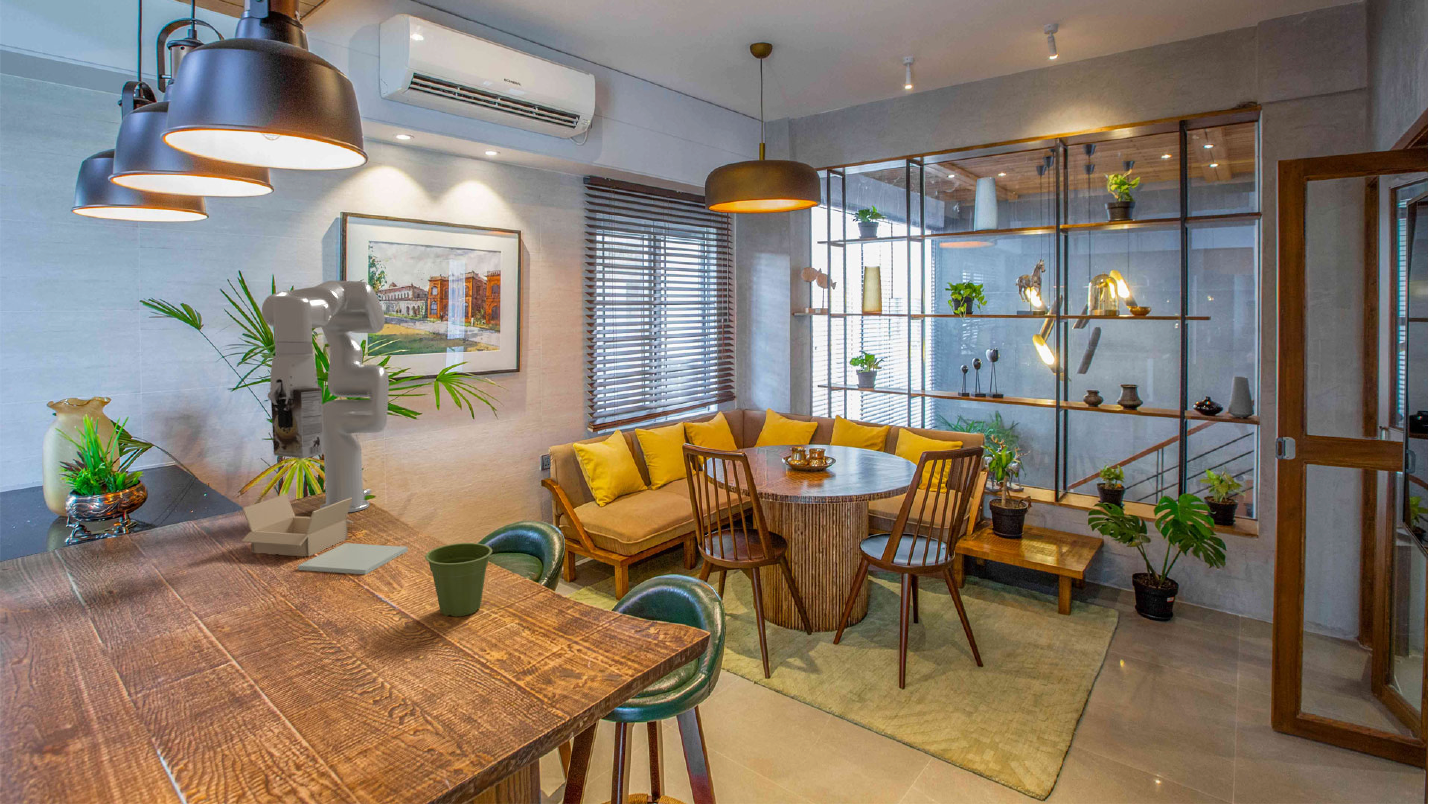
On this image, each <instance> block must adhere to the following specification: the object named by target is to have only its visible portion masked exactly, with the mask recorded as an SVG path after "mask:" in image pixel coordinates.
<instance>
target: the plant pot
mask: <svg viewBox="0 0 1429 804" xmlns="http://www.w3.org/2000/svg"><path fill="white" fill-rule="evenodd" d="M492 553H493V548H492V547H490V546H489V545H487V544H482V543H477V542H476V543H475V542H460V543H453V544H446V545H442V546H438V547H435V548H433V549H431V550H429V551H427V553H426V554H425V555H424V559H425V560H426V562H428V564H429V568H430V569H429V570H430V572H431V574H432V576H433V577H432V578H433V581H434V588H435V592H436V597H437V601H438V607H439V611H440V613H441V614H442V615H444V616H453V617H457V616H460V617H465V616H469V614H470V615H471V614H474V613H476V612H477V610H480V608H481V605H482V599H483V592H484V586H485V584H484V583H485V578H486V572H487V567H488V566H489V565H488V564H489V558H490V556H491V555H492ZM457 618H458V617H457Z"/></svg>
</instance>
